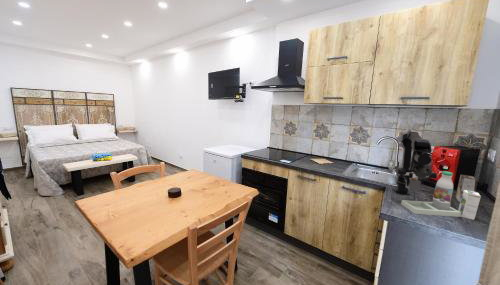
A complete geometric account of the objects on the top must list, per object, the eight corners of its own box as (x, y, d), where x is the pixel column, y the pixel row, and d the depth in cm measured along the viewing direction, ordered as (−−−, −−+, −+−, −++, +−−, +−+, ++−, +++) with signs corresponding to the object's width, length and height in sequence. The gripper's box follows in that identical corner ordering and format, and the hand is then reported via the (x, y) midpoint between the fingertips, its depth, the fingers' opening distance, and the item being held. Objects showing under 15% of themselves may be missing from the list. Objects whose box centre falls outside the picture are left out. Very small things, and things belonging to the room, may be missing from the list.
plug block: (405, 186, 123) (407, 176, 122) (415, 188, 121) (417, 177, 120) (408, 189, 118) (411, 178, 117) (419, 191, 117) (421, 180, 116)
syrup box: (456, 213, 112) (462, 189, 110) (472, 217, 109) (478, 192, 106) (458, 217, 108) (464, 192, 106) (474, 221, 104) (481, 195, 102)
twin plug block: (431, 208, 115) (433, 197, 114) (440, 208, 115) (443, 197, 114) (438, 212, 110) (441, 201, 109) (448, 213, 110) (451, 201, 109)
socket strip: (400, 205, 119) (401, 200, 119) (441, 208, 118) (442, 202, 117) (414, 215, 108) (415, 209, 108) (459, 218, 107) (461, 212, 107)
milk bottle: (432, 199, 130) (439, 169, 127) (449, 203, 125) (456, 172, 122) (431, 202, 125) (438, 171, 122) (449, 207, 120) (456, 175, 116)
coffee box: (472, 205, 125) (479, 180, 122) (458, 201, 128) (464, 177, 125) (468, 199, 132) (474, 176, 129) (454, 197, 136) (460, 174, 133)
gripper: (404, 162, 112) (399, 188, 115) (445, 166, 107) (439, 194, 109) (396, 158, 123) (392, 182, 125) (434, 161, 117) (429, 187, 120)
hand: (412, 186), depth 119 cm, fingers closed on plug block, 5 cm apart
